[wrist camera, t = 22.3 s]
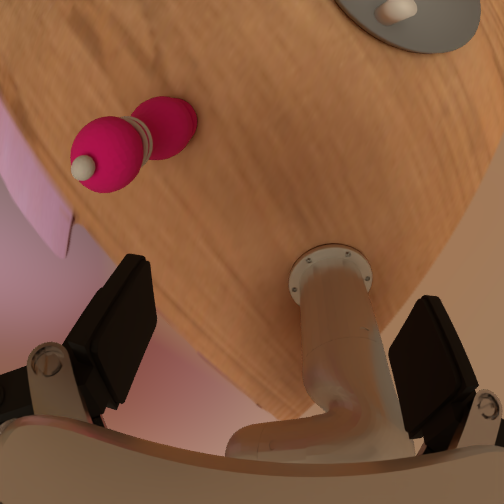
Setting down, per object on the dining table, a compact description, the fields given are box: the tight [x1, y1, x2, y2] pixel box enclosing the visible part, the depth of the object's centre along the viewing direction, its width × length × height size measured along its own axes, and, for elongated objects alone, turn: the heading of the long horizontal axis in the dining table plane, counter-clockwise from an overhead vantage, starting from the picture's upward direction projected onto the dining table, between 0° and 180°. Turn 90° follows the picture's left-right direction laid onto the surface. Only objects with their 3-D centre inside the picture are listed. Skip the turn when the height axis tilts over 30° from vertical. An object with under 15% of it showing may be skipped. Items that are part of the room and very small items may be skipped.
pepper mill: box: [70, 96, 197, 193], centre depth 25 cm, size 7×7×20 cm
